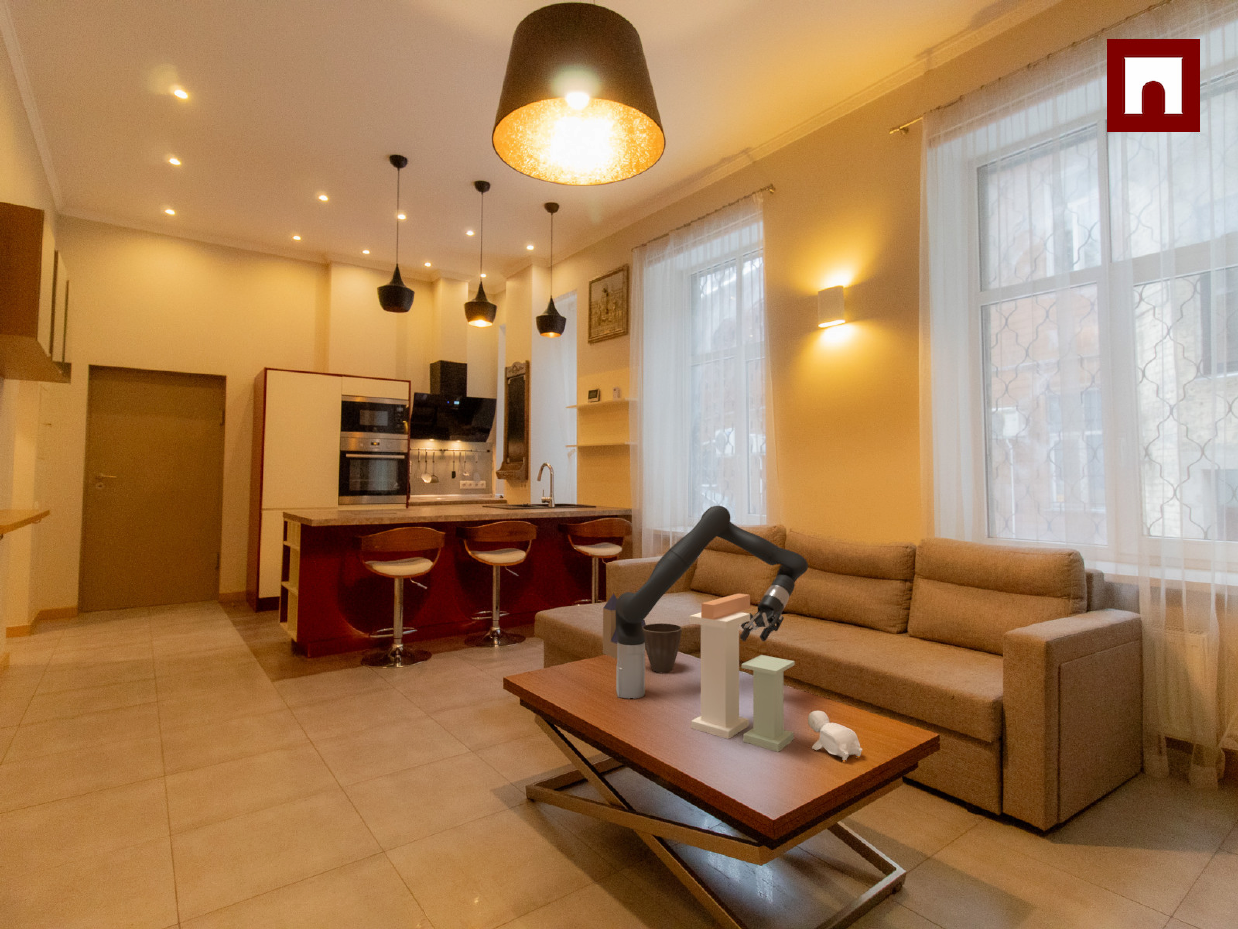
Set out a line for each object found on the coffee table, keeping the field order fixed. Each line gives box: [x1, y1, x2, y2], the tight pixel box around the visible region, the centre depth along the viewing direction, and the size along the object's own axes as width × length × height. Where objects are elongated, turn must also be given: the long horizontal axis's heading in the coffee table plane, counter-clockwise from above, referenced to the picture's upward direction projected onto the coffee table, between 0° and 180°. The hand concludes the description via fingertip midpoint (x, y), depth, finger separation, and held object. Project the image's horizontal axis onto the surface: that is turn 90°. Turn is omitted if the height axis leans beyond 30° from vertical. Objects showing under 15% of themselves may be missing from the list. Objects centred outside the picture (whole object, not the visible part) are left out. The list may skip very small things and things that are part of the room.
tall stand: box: [688, 611, 750, 740], centre depth 176 cm, size 14×12×32 cm
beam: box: [700, 593, 751, 620], centre depth 179 cm, size 22×4×4 cm, turn 141°
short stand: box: [740, 654, 796, 753], centre depth 166 cm, size 12×10×21 cm
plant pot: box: [642, 623, 683, 674], centre depth 230 cm, size 15×15×16 cm
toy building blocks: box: [602, 593, 647, 660], centre depth 253 cm, size 12×19×25 cm, turn 122°
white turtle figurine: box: [807, 710, 863, 761], centre depth 160 cm, size 9×8×15 cm
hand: (752, 639), depth 192 cm, fingers open, 8 cm apart
